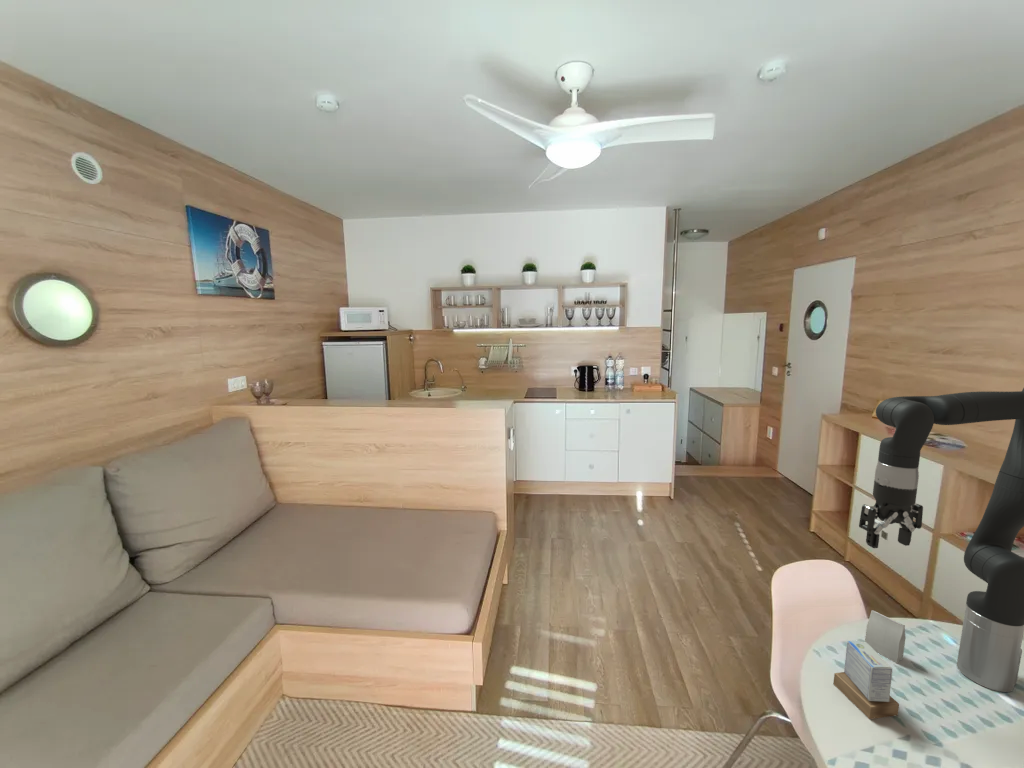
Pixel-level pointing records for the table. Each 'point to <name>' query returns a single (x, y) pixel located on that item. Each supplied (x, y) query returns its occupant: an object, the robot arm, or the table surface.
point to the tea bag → (885, 636)
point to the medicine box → (868, 671)
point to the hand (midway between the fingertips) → (887, 545)
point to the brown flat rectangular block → (865, 699)
